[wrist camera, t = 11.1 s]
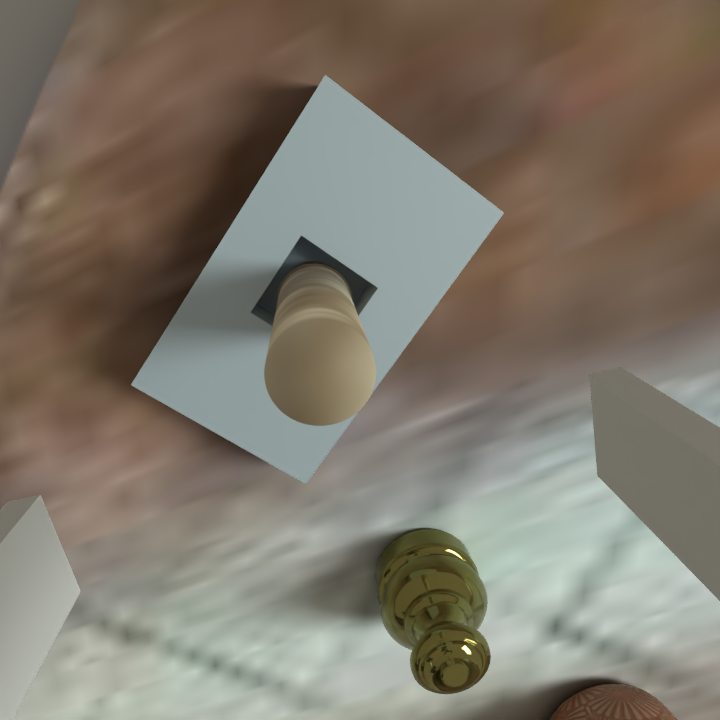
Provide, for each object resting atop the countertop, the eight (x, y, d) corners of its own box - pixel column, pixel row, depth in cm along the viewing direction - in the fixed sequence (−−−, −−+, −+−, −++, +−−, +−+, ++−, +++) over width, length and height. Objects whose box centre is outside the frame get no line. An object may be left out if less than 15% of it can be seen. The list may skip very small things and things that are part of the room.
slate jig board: (305, 455, 41) (305, 483, 37) (148, 363, 38) (130, 385, 34) (483, 208, 37) (503, 212, 33) (322, 85, 34) (325, 74, 30)
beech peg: (275, 318, 37) (255, 421, 22) (283, 251, 36) (268, 309, 20) (342, 327, 37) (368, 434, 22) (352, 261, 36) (388, 325, 21)
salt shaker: (480, 529, 44) (528, 627, 35) (461, 612, 46) (502, 726, 37) (382, 522, 43) (404, 621, 34) (367, 607, 45) (384, 723, 36)
